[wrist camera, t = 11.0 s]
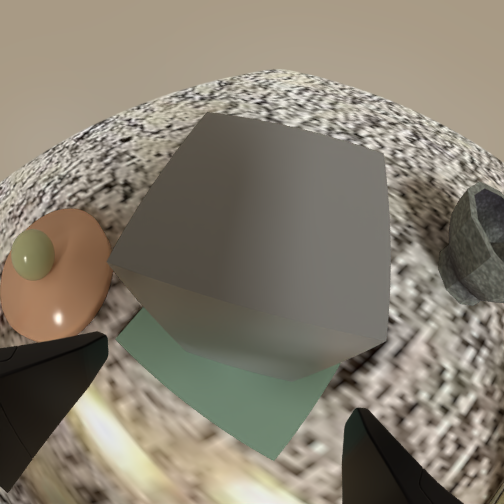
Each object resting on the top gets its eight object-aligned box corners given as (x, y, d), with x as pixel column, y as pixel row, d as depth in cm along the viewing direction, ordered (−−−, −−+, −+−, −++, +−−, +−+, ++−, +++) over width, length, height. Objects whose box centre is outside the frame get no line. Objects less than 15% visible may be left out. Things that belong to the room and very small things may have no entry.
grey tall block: (291, 381, 15) (386, 340, 5) (186, 351, 15) (106, 261, 6) (313, 285, 18) (383, 153, 8) (219, 260, 18) (206, 112, 9)
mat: (272, 459, 12) (274, 460, 12) (117, 340, 15) (115, 339, 15) (375, 293, 18) (377, 290, 18) (237, 209, 21) (237, 206, 21)
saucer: (48, 375, 13) (0, 359, 9) (-3, 283, 16) (-36, 254, 12) (141, 265, 18) (116, 222, 14) (71, 200, 21) (49, 161, 17)
